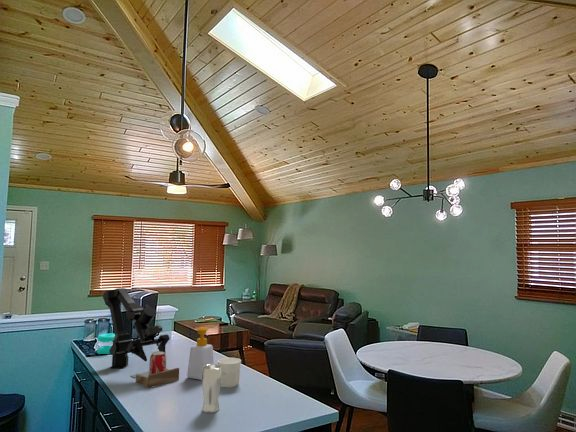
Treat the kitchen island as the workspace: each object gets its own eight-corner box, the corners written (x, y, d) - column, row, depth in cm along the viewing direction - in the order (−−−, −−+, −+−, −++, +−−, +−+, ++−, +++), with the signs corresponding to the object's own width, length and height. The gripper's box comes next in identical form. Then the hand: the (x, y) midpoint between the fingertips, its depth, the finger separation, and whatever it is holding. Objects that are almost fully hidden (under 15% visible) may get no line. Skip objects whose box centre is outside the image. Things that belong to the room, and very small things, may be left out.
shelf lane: (135, 382, 172) (136, 370, 173) (164, 374, 183) (165, 363, 184) (149, 387, 165) (150, 375, 166) (178, 379, 176) (179, 368, 177)
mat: (130, 376, 180) (130, 375, 180) (148, 372, 187) (148, 371, 187) (141, 380, 175) (141, 379, 175) (159, 375, 181) (159, 375, 181)
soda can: (160, 384, 170) (161, 355, 171) (145, 382, 172) (146, 354, 173) (168, 379, 177) (169, 351, 178) (154, 377, 179) (155, 350, 180)
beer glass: (202, 406, 146) (203, 364, 148) (221, 405, 147) (222, 364, 148) (199, 413, 139) (201, 369, 141) (219, 413, 140) (220, 369, 141)
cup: (244, 382, 174) (244, 358, 175) (234, 389, 165) (234, 364, 166) (224, 379, 177) (224, 356, 178) (212, 386, 168) (213, 362, 169)
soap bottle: (221, 373, 187) (222, 324, 189) (203, 381, 174) (204, 329, 177) (204, 370, 191) (205, 323, 193) (185, 378, 179) (187, 327, 181)
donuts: (103, 337, 216) (93, 335, 221) (102, 356, 215) (92, 353, 221) (120, 334, 224) (110, 332, 230) (119, 352, 223) (109, 350, 229)
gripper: (131, 321, 174) (144, 351, 166) (168, 316, 189) (181, 344, 181) (121, 337, 179) (133, 367, 170) (158, 331, 193) (170, 358, 185)
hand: (155, 358), depth 176 cm, fingers open, 9 cm apart
